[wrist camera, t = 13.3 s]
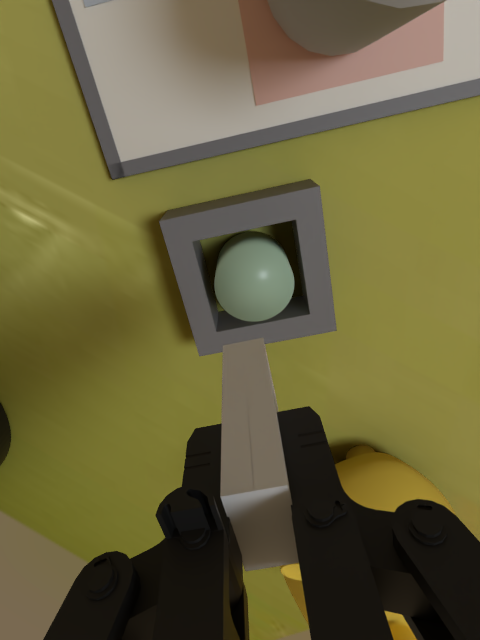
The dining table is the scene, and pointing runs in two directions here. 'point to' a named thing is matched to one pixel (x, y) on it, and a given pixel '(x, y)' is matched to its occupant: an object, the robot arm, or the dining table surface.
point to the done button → (253, 277)
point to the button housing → (239, 215)
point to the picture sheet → (248, 75)
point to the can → (344, 21)
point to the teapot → (374, 507)
